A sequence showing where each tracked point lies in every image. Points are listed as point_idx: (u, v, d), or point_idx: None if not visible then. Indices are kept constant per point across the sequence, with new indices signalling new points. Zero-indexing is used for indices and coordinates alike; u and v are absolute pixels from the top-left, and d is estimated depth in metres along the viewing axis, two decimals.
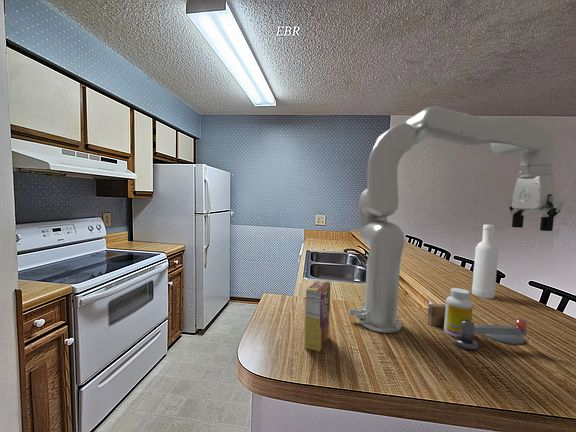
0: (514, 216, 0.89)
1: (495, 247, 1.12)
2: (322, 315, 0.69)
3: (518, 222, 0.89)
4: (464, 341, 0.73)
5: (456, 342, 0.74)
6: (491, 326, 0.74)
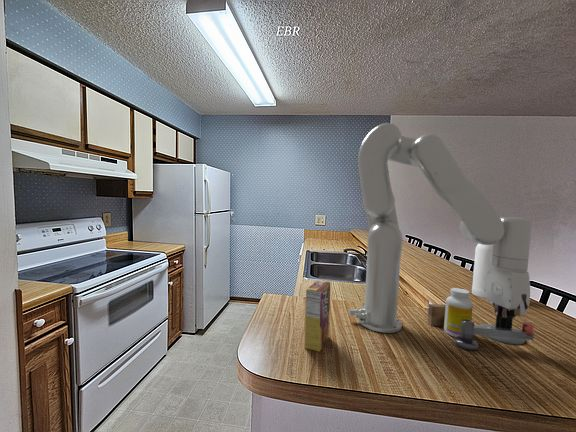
0: (498, 317, 0.75)
1: None
2: (322, 315, 0.69)
3: None
4: (463, 341, 0.73)
5: (455, 341, 0.74)
6: (494, 328, 0.73)
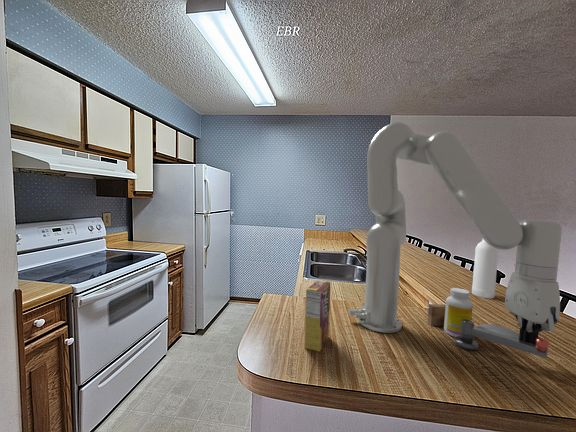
0: (522, 331, 0.67)
1: None
2: (322, 315, 0.69)
3: None
4: (460, 339, 0.74)
5: None
6: (498, 334, 0.69)
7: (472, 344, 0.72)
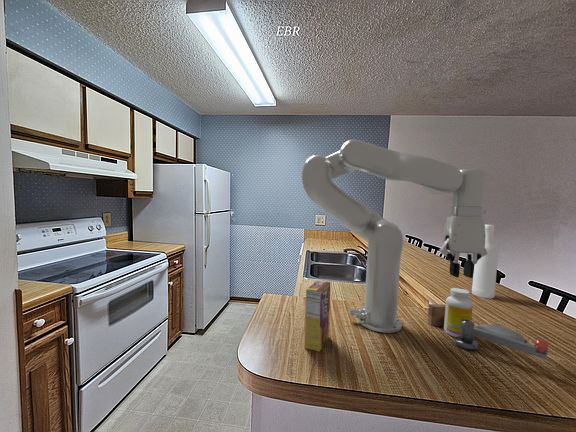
0: (464, 263, 0.81)
1: (495, 247, 1.12)
2: (322, 315, 0.69)
3: (466, 270, 0.80)
4: (460, 339, 0.74)
5: None
6: (498, 335, 0.69)
7: (472, 344, 0.72)
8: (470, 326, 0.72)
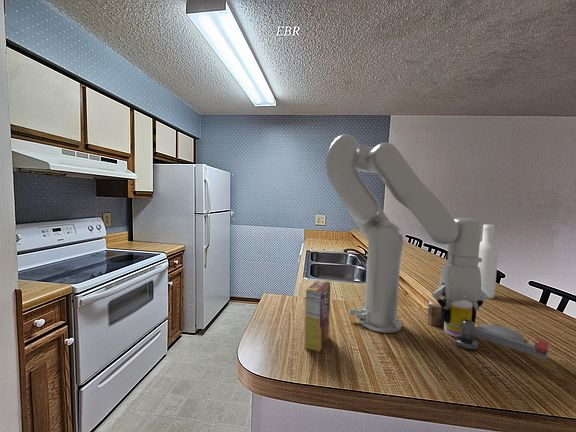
0: None
1: (495, 247, 1.12)
2: (322, 315, 0.69)
3: None
4: (460, 339, 0.74)
5: None
6: (498, 335, 0.69)
7: (472, 344, 0.72)
8: (470, 326, 0.72)
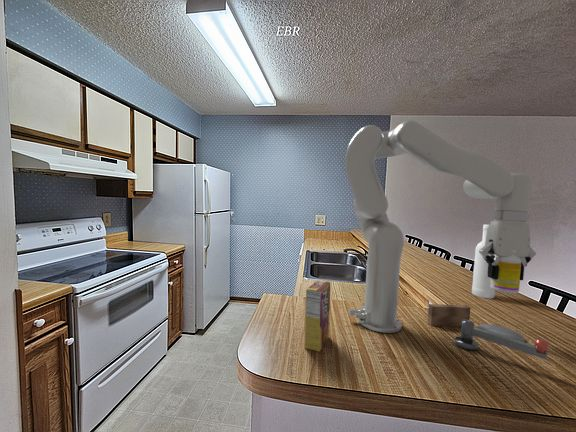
0: None
1: None
2: (322, 315, 0.69)
3: None
4: (460, 339, 0.74)
5: None
6: (498, 335, 0.69)
7: (472, 344, 0.72)
8: (470, 326, 0.72)
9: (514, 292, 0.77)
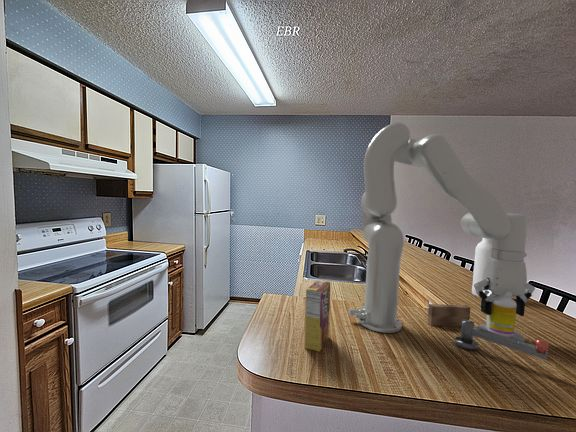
0: (514, 300, 0.82)
1: None
2: (322, 315, 0.69)
3: (516, 308, 0.81)
4: (460, 339, 0.74)
5: None
6: (498, 335, 0.69)
7: (472, 344, 0.72)
8: (470, 326, 0.72)
9: (509, 336, 0.78)
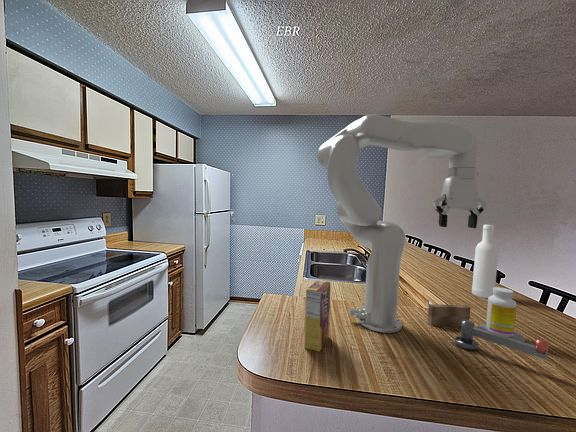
0: (469, 216, 0.91)
1: (495, 247, 1.12)
2: (322, 315, 0.69)
3: (470, 222, 0.90)
4: (460, 339, 0.74)
5: None
6: (498, 335, 0.69)
7: (472, 344, 0.72)
8: (470, 326, 0.72)
9: (509, 336, 0.78)
